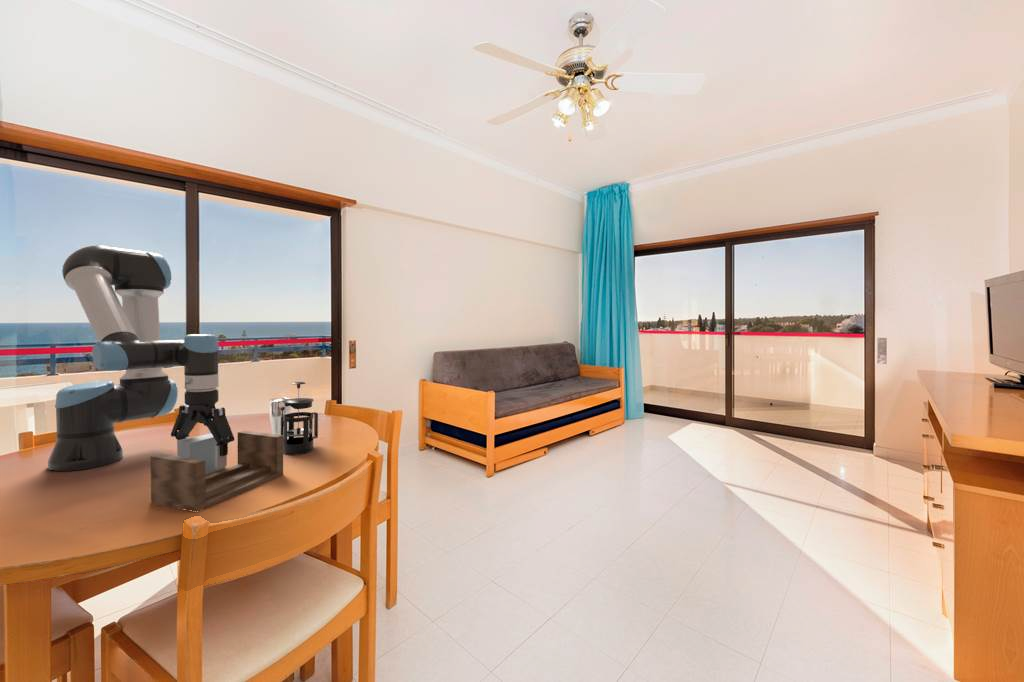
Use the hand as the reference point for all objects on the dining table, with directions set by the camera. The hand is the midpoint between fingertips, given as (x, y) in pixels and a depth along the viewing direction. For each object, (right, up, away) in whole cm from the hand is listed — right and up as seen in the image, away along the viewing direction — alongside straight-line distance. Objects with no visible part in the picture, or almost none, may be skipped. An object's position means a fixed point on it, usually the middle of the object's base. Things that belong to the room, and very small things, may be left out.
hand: (202, 464), depth 113 cm
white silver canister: (+4, -1, +31) cm, 31 cm away
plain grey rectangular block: (0, -2, 0) cm, 2 cm away
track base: (+13, -3, -10) cm, 16 cm away
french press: (+16, -2, +22) cm, 27 cm away
